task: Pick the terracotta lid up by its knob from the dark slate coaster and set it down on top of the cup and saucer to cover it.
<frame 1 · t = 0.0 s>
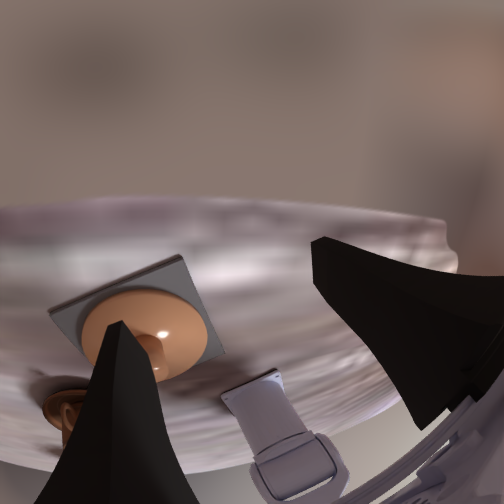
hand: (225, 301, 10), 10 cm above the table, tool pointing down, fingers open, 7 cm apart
cup and saucer: (89, 405, 24), on the table
coaster: (143, 337, 22), on the table
lid: (146, 355, 20), on the coaster
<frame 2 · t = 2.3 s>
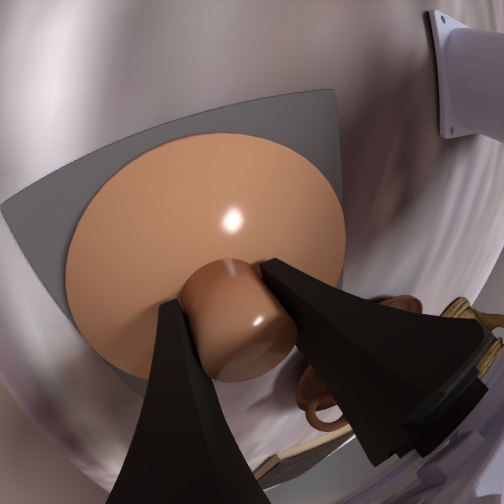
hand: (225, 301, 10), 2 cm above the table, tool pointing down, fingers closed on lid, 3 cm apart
cup and saucer: (351, 344, 20), on the table
coaster: (212, 276, 11), on the table
hardcover book: (287, 460, 38), on the table
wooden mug: (450, 308, 29), on the table
lid: (231, 312, 9), on the coaster, touching gripper
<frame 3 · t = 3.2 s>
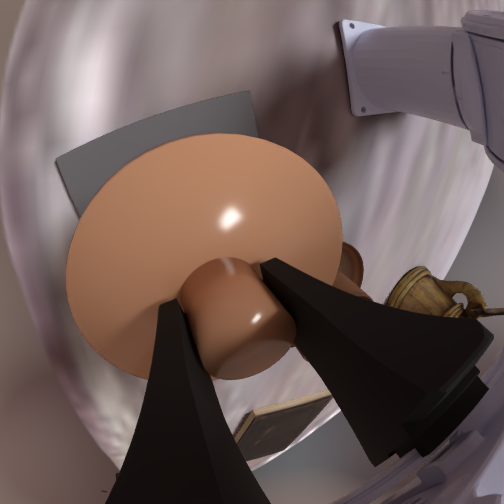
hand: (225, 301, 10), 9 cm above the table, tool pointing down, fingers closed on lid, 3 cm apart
cup and saucer: (301, 287, 26), on the table
coaster: (178, 207, 17), on the table
hardcover book: (268, 427, 44), on the table
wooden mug: (412, 278, 35), on the table
lid: (230, 310, 9), point 10 cm above the table, touching gripper
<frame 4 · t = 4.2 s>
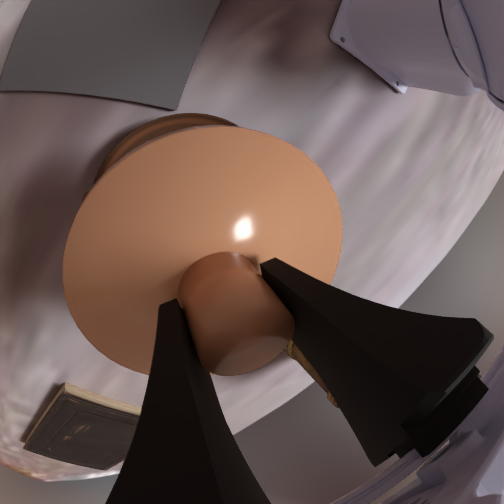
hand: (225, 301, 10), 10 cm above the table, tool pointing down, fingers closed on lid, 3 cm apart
cup and saucer: (182, 202, 18), on the table
coaster: (115, 4, 9), on the table
hardcover book: (88, 430, 27), on the table
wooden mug: (329, 311, 30), on the table
lid: (228, 305, 9), point 10 cm above the table, touching gripper
when the fingers open (8 cm above the table, at t = 4.9 s): lid drops 1 cm, resting on cup and saucer.
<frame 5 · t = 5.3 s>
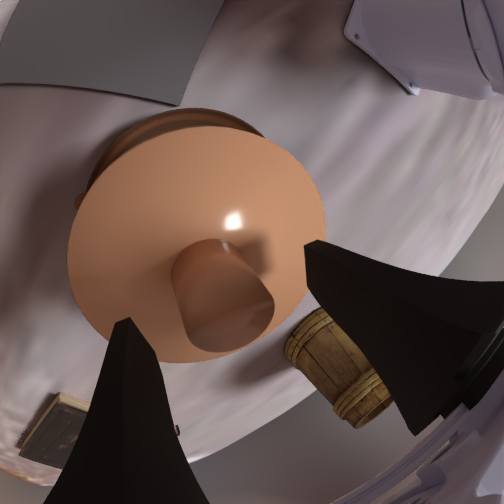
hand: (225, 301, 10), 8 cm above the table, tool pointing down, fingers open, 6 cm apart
cup and saucer: (184, 206, 16), on the table, touching lid
hardcover book: (85, 438, 25), on the table
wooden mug: (334, 319, 29), on the table
lid: (215, 288, 10), point 8 cm above the table, touching cup and saucer
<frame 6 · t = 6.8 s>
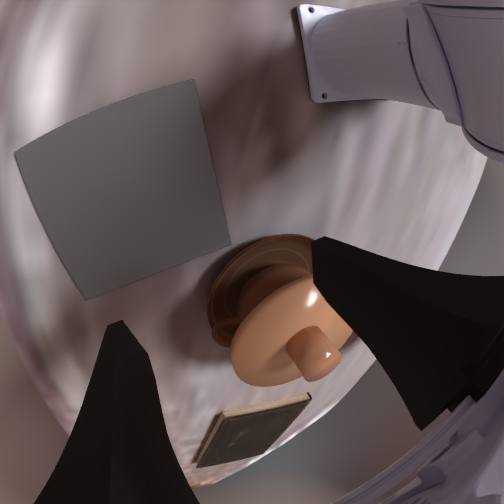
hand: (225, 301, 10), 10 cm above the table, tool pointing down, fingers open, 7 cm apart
cup and saucer: (265, 284, 25), on the table, touching lid
coaster: (124, 197, 16), on the table
hardcover book: (244, 430, 42), on the table
lid: (310, 350, 19), point 8 cm above the table, touching cup and saucer
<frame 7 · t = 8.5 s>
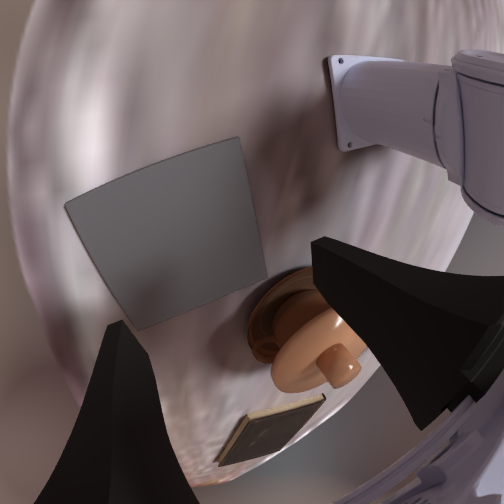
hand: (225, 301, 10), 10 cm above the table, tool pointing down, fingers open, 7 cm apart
cup and saucer: (293, 305, 28), on the table, touching lid
coaster: (176, 243, 19), on the table
hardcover book: (263, 429, 46), on the table
lid: (336, 362, 22), point 8 cm above the table, touching cup and saucer
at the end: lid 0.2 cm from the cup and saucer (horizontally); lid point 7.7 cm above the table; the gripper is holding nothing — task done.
